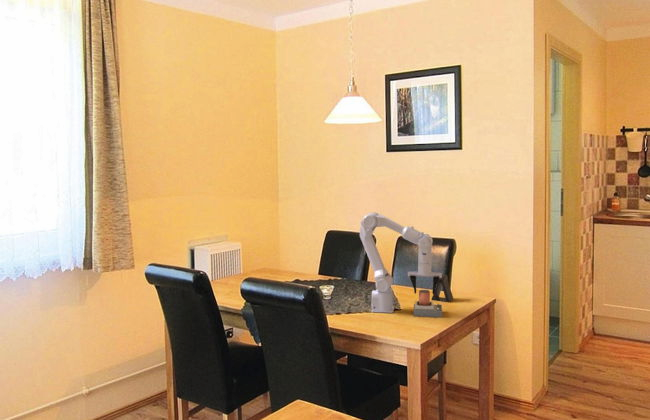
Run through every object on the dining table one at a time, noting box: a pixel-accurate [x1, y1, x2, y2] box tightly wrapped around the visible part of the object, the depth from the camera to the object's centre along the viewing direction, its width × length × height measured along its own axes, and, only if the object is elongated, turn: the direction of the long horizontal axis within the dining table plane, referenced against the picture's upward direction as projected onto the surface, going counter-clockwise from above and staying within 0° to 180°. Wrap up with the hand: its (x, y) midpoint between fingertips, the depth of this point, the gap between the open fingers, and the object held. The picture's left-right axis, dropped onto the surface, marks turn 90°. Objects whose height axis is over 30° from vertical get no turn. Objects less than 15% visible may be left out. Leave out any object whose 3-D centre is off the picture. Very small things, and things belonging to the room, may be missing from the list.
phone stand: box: [430, 273, 454, 303], centre depth 268 cm, size 9×6×12 cm, turn 60°
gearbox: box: [413, 300, 443, 318], centre depth 245 cm, size 12×9×4 cm
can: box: [418, 289, 431, 306], centre depth 245 cm, size 5×5×7 cm
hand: (424, 293), depth 245 cm, fingers open, 7 cm apart
